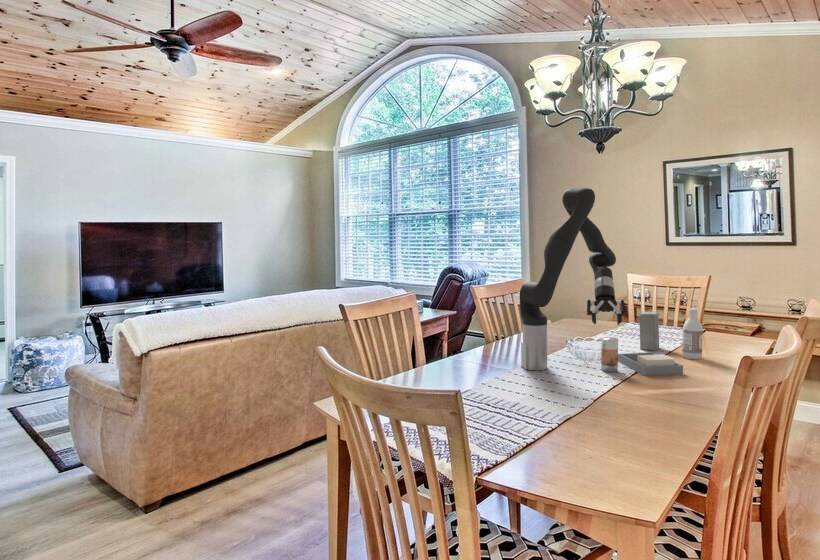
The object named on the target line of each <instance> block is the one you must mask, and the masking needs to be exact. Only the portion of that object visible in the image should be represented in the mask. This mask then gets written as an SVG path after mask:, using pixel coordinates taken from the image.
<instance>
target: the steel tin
mask: <svg viewBox="0 0 820 560" xmlns="http://www.w3.org/2000/svg"><path fill="white" fill-rule="evenodd" d="M600 347H601V352H600V353H601V354H600V355H601V357H600V360H601V362H600V364H601V365H600V368H601V372H603V373H607V374H615V373H618V369H619V362H618V354H619V338H617V337H614V336H605V337H604V336H603V337H601V346H600Z"/></svg>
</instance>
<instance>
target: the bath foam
mask: <svg viewBox="0 0 820 560" xmlns="http://www.w3.org/2000/svg"><path fill="white" fill-rule="evenodd" d="M698 310H699V309H698V308H696V307H695V308H694V307H691V308H689V310H688V318H687V320H685V322H684V325H683V328H682V350H681V352H682V358H684V359H687V360H696V361H697V360H701V359H702V358H703V341H704V340H703V336H704V333H703V332H704V328H703V325H702V323H701V321H700V320H699V318H698V316H699V315H698V314H699V313H698Z"/></svg>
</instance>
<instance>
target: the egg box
mask: <svg viewBox="0 0 820 560" xmlns="http://www.w3.org/2000/svg"><path fill="white" fill-rule="evenodd" d="M674 362H675V358H673V357H670V356H668V355H666V354H664V353H662V354H661V353H660V354H657V355H637V363H639V364H641V365H643V366H645V367H651V366H673V365H674Z"/></svg>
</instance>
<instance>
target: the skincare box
mask: <svg viewBox="0 0 820 560" xmlns="http://www.w3.org/2000/svg"><path fill="white" fill-rule="evenodd" d="M638 317H639V321H638V322H639V347H640V348H639V349H640V350H646V351H648V350H649V351H654V350H655V351H657V350H658V349H659V348H660V331H659V330H660V329H659V328H660V325H659V324H660V323H659V322H660V321H659V312H655V311H651V312H650V311H643V312H641V313H639V316H638Z"/></svg>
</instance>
